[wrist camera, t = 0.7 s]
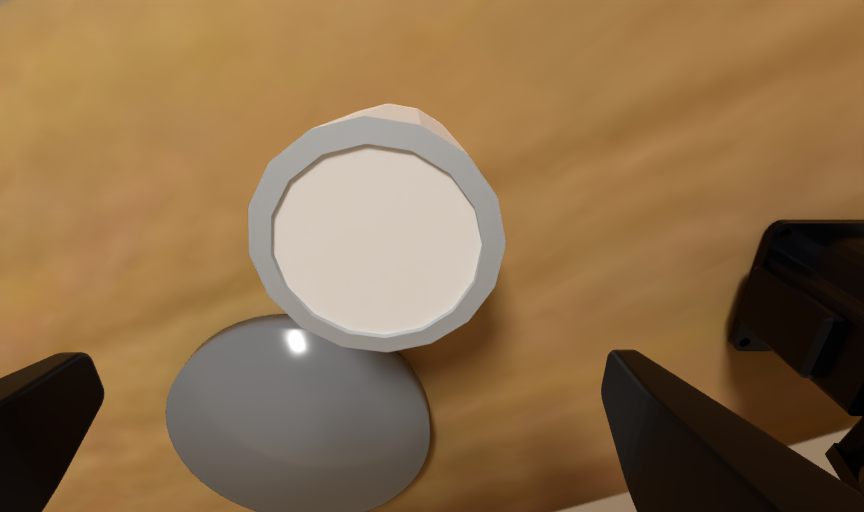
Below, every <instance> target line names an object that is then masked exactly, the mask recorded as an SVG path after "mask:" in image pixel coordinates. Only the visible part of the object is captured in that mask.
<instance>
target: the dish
mask: <svg viewBox="0 0 864 512" xmlns="http://www.w3.org/2000/svg"><path fill="white" fill-rule="evenodd" d="M166 424H167V429H168V433H169V437H170V439H171V441H172V444H173V446H174V448H175V450H176V452H177V454H178V455H179V457H180V458H181V460H182V461H183V463H184V464H185V465H186V466H187V467H188V469H189V470H190V471H191V472H192V473H193V474H194V475H195V476H196V477H197V478H198V479H199V480H200V481H201V482H203V483H204V484H205V485H207V486H208V487H209V488H210V489H212V490H213V491H215V492H216V493H218V494H220V495H221V496H223V497H225V498H226V499H228V500H230V501H232V502H234V503H236V504H238V505H241V506H243V507H246V508H249V509H251V510H254V511H257V512H365V511H368V510H371V509H373V508H376V507H378V506H380V505H382V504H384V503H386V502H387V501H389V500H391V499H392V498H394V497H395V496H397V495H398V494H399V493H400V492H402V491H403V490H404V489H405V488H406V487H407V486H408V485H409V484H410V483H411V482H412V481H413V480H414V478H415V477H416V476H417V474H418V473H419V471H420V470H421V468H422V466H423V464H424V461H425V459H426V456H427V452H428V449H429V440H430V414H429V404H428V401H427V397H426V393H425V391H424V389H423V386H422V384H421V382H420V380H419V378H418V377H417V375H416V374H415V372H414V371H413V369H412V368H411V367H410V366H409V364H408V363H407V362H406V361H405V360H404V359H403V357H401V356H400V355H399V354H398V353H397V352H396V351H392V352H380V351H372V350H363V349H355V348H347V347H342V346H340V345H337V344H335V343H333V342H331V341H329V340H327V339H325V338H322V337H320V336H318V335H316V334H314V333H312V332H310V331H307V330H305V329H303V328H301V327H300V326H299V325H298V324H297V323H296V322H295V321H294V320H293V319H292V318H291V317H290V316H289V315H288V314H277V315H267V316H262V317H256V318H252V319H248V320H245V321H242V322H239V323H236V324H234V325H232V326H229V327H227V328H225V329H223V330H221V331H220V332H218V333H216V334H215V335H213V336H212V337H210V338H209V339H208V340H207V341H205V342H204V343H203V344H202V345H201V346H200V347H199V348H198V349H197V350H196V351H195V353H194V354H193V355H192V356H191V357H190V359H189V360H188V362H187V363H186V364H185V366H184V367H183V368H182V370H181V371H180V372H179V374H178V375H177V377H176V379H175V381H174V383H173V384H172V386H171V389H170V392H169V395H168V398H167V405H166Z"/></svg>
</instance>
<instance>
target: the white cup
mask: <svg viewBox="0 0 864 512" xmlns="http://www.w3.org/2000/svg"><path fill="white" fill-rule="evenodd" d="M248 219H249V255H250V257H251V259H252V261H253V263H254V266H255V268H256V270H257V272H258V274H259V276H260V279H261V281H262V283H263V285H264V287H265V289H266V292H267V294H268V296H269V297H270V298H271V299H272V300H273V301H274V302H275V303H276V304H277V305H279V306H280V307H281V308H282V309H283V310H284V311H285V312H286V313H287V314H288V315H289V316H290V317H291V318H292V319H293V320H294V321H295V322H296V323H297V324H298V325H299V326H300V327H301V328H303V329H305V330H307V331H310V332H312V333H314V334H316V335H318V336H320V337H322V338H325V339H327V340H329V341H331V342H333V343H335V344H337V345H340V346H342V347H347V348H355V349H363V350H372V351H380V352H392V351H397V350H402V349H407V348H412V347H417V346H422V345H427V344H431V343H433V342H435V341H436V340H438V339H440V338H441V337H443V336H445V335H446V334H448V333H450V332H451V331H453V330H455V329H456V328H458V327H460V326H461V325H463V324H465V323H466V322H468V321H469V320H470V319H471V317H472V316H473V315H474V313H475V312H476V311H477V310H478V308H479V307H480V306H481V304H482V303H483V302H484V301H485V299H486V298H487V297H488V295H489V294H490V293H491V291H492V290H493V289H494V288H495V285H496V281H497V277H498V273H499V269H500V265H501V261H502V257H503V254H504V250H505V246H506V241H505V235H504V230H503V224H502V219H501V214H500V208H499V203H498V197H497V196H496V194H495V193H494V191H493V190H492V188H491V187H490V185H489V184H488V183H487V181H486V180H485V178H484V177H483V175H482V174H481V172H480V171H479V170H478V168H477V167H476V165H475V164H474V162H473V161H472V159H471V158H470V156H469V155H468V154H467V153H466V151H465V150H464V149H463V148H462V147H461V146H460V145H459V143H458V142H457V141H456V140H455V139H454V138H453V136H452V135H451V134H450V133H449V132H448V131H447V130H446V128H445V127H444V126H443V125H442V124H441V123H439V122H438V121H436V120H435V119H433V118H431V117H430V116H428V115H427V114H425V113H424V112H422V111H420V110H419V109H417V108H412V107H406V106H400V105H394V104H384V105H380V106H376V107H372V108H368V109H365V110H361V111H358V112H355V113H352V114H350V115H347V116H344V117H342V118H339V119H336V120H334V121H331V122H328V123H326V124H323V125H320V126H318V127H315V128H312V129H310V130H309V131H307V132H306V133H305V134H304V135H302V136H301V137H300V138H299V139H297V140H296V141H295V142H294V143H292V144H291V145H290V146H289V147H287V148H286V149H285V150H284V151H282V152H281V153H280V154H279V155H278V156H276V157H275V158H274V159H273V160H271V161H270V162H269V163H268V166H267V168H266V170H265V172H264V174H263V176H262V178H261V181H260V183H259V185H258V187H257V189H256V191H255V194H254V196H253V198H252V200H251V202H250V204H249V206H248Z"/></svg>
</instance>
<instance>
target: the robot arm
mask: <svg viewBox="0 0 864 512" xmlns="http://www.w3.org/2000/svg"><path fill="white" fill-rule="evenodd" d="M784 229H785V231H784V232H783V234H781V235H780V236H779V234H780V232H781V231H782V230H784ZM743 338H744V339H743ZM742 339H743V340H742ZM741 340H742V341H741ZM729 342H730V344H731V345H732V346H733V347H734V348H735V349H736V350H738V351H774V352H775V353H776V354H777V355H778V356H779V357H780V358H781V359H782V360H783V361H784V362H786V363H787V364H788V365H789V366H790V367H791V368H792V369H793V370H794V371H795V372H797V373H798V374H799V375H800V376H801V377H803V378H809V379H810V380H811V381H812V382H814V383H815V384H816V385H817V386H818V387H819V388H820V389H821V390H822V391H824V392H825V393H826V394H827V395H828V396H829V397H830V398H831V399H832V400H834V401H835V402H836V403H837V404H838V405H839V406H840V407H841V408H842V409H844V410H845V411H846V412H847V413H848V414H849V415H851V416H862V418H861V419H860V420H859V421H858V422H857V423H856V424H855V425H854V427H853V428H852V429H851V430H850V431H849V432H848V433H847V434H846V435H845V437H844V438H843V439H842V440H841V441H840V442H839V443H834V444H833V445H832V446H831V447H830V449H829V450H828V451H827V452H826V453H825V455H826V457H827V458H828V460H829V462H830V463H831V465H832V467H833V468H834V470H835V471H836V473H837V475H838V477H839V478H840V480H839V479H838V478H836V477H834V476H833V475H831V474H830V473H828V472H827V471H825V470H823V469H822V468H820V467H819V466H817V465H815V464H814V463H812V462H811V461H809V460H808V459H806V458H805V457H803V456H801V455H800V454H798V453H797V452H795V451H794V450H792V449H790V448H789V447H787V446H786V445H784V444H783V443H781V442H779V441H778V440H776V439H775V438H773V437H772V436H770V435H768V434H767V433H765V432H764V431H762V430H761V429H759V428H757V427H756V426H754V425H753V424H751V423H750V422H748V421H746V420H745V419H743V418H742V417H740V416H739V415H737V414H735V413H734V412H732V411H731V410H729V409H728V408H726V407H724V406H723V405H721V404H720V403H718V402H717V401H715V400H713V399H712V398H710V397H709V396H707V395H705V394H704V393H702V392H701V391H699V390H698V389H696V388H694V387H693V386H691V385H690V384H688V383H687V382H685V381H683V380H682V379H680V378H679V377H677V376H676V375H674V374H672V373H671V372H669V371H668V370H666V369H665V368H663V367H661V366H660V365H658V364H657V363H655V362H654V361H652V360H650V359H649V358H647V357H646V356H644V355H643V354H641V353H639V352H638V351H636V350H612V351H611V352H610V353H609V355H608V357H607V362H606V367H605V372H604V376H603V381H602V387H601V395H602V401H603V405H604V408H605V412H606V415H607V419H608V422H609V426H610V429H611V433H612V436H613V440H614V443H615V447H616V450H617V454H618V458H619V461H620V465H621V468H622V471H623V475H624V478H625V481H626V484H627V487H628V490H629V492H630V495H631V498H632V500H633V503H634V505H635V508H636V510H637V512H864V220H778V221H776V222H774V223H772V224H771V225H770V226H769V228H768V230H767V232H766V234H765V237H764V240H763V243H762V246H761V249H760V251H759V254H758V257H757V260H756V263H755V266H754V268H753V271H752V274H751V277H750V280H749V283H748V285H747V288H746V291H745V294H744V297H743V299H742V302H741V305H740V308H739V311H738V314H737V316H736V319H735V322H734V325H733V328H732V331H731V333H730V336H729ZM103 399H104V388H103V385H102V382H101V380H100V378H99V375H98V373H97V370H96V368H95V365H94V363H93V360H92V359H91V357H90V356H89V355H88V354H86V353H82V352H64V353H58V354H55V355H53V356H50V357H48V358H46V359H43V360H41V361H39V362H37V363H34V364H32V365H30V366H27V367H25V368H23V369H20V370H18V371H16V372H14V373H11V374H9V375H7V376H4V377H2V378H0V512H42V511H43V509H44V508H45V506H46V505H47V503H48V502H49V500H50V498H51V497H52V495H53V493H54V492H55V490H56V489H57V487H58V485H59V483H60V482H61V480H62V478H63V476H64V474H65V473H66V471H67V469H68V467H69V465H70V463H71V461H72V459H73V458H74V456H75V454H76V452H77V450H78V448H79V446H80V444H81V443H82V441H83V439H84V437H85V435H86V433H87V431H88V429H89V427H90V426H91V424H92V422H93V420H94V418H95V416H96V414H97V412H98V411H99V409H100V407H101V405H102V403H103Z"/></svg>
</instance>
